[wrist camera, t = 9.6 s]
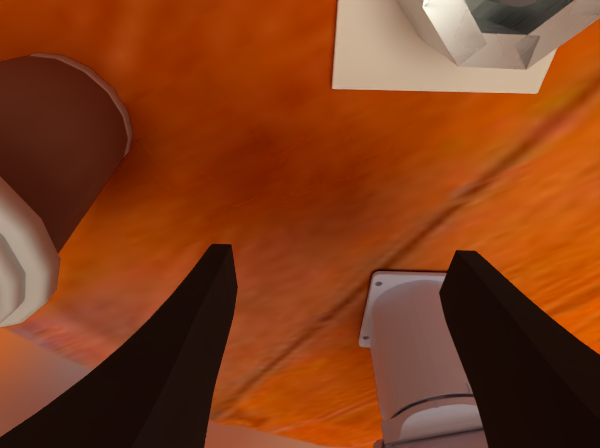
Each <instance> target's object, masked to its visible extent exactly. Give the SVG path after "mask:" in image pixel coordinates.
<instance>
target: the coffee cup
mask: <svg viewBox="0 0 600 448" xmlns="http://www.w3.org/2000/svg"><path fill="white" fill-rule="evenodd" d="M132 135H133V133H132V128H131V124H130V119H129V115H128V111H127V110H126V108H125V106H124V105H123V103H122V102H121V100H120V98H119V97H118V95H117V94H116V92H115V90H114V89H113V88H112V87H111V86H110V85H109V84H108V83H106V82H105V81H104V80H103V79H102V78H101V77H100V76H99V75H98V74H96V73H95V72H94V71H93V70H92V69H91V68H89V67H87V66H85V65H83V64H80V63H78V62H76V61H74V60H72V59H70V58H68V57H66V56H64V55H55V54H45V53H35V54H32V55H29V56H25V57H20V58H15V59H10V60H5V61H1V62H0V327H3V326H8V325H13V324H18V323H22V322H23V321H25V320H26V319H27V318H29V317H30V316H31V315H32V314H33V313H35V312H36V311H37V310H38V309H39V308H40V307H42V306H43V305H44V304H45V303H46V302H47V301H48V300H49V299H50V297H51V296H52V295H53V293H54V292H55V291H56V289H57V283H58V275H59V267H60V257H59V255H58V253H59V252H60V250H61V249H62V247H63V246H64V244H65V243H66V242H67V240H68V239H69V237H70V236H71V234H72V233H73V231H74V230H75V228H76V227H77V225H78V224H79V222H80V221H81V219H82V218H83V217H84V215H85V214H86V212H87V211H88V209H89V208H90V206H91V205H92V203H93V202H94V200H95V199H96V197H97V196H98V195H99V193H100V192H101V190H102V189H103V187H104V186H105V184H106V183H107V181H108V180H109V178H110V177H111V175H112V174H113V173H114V171H115V170H116V168H117V167H118V165H119V164H120V162H121V161H122V159H123V158H124V157H125V155H126V154H127V153H128V152H129V148H130V144H131V140H132Z"/></svg>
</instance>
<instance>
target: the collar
mask: <svg viewBox="0 0 600 448" xmlns="http://www.w3.org/2000/svg"><path fill="white" fill-rule="evenodd" d="M396 1H397V3H398V4H399V6H400V7H401V9H402V11H403V12H404V14H405V15H406V17H407V19H408V20H409V22H410V23H411V25H412V26H413V28H414V30H415V31H416V33H417V34H418V36H419V37H420V38H421V39H422V40H423V41H425V42H426V43H427V44H429V45H430V46H431V47H433V48H434V49H435V50H437V51H438V52H439V53H441V54H442V55H443V56H445V57H446V58H447V59H449V60H450V61H451V62H453V63H454V64H455V65H457V66H458V67H478V68H499V69H521V70H527V69H528V68H529V67H531V66H532V65H534V64H535V63H537V62H538V61H539V60H541V59H542V58H544V57H545V56H546V55H548V54H549V53H551V52H552V51H554V50H555V49H556V48H558V47H559V46H561V45H562V44H564V43H565V42H566V41H568V40H569V39H571V38H572V37H573V36H575V35H576V34H578V33H579V32H581V31H582V30H583V29H585V28H586V27H588V26H589V25H590V24H592V23H593V22H595V21H596V20H598V19H599V18H600V0H539V1H537V2H535V3H533V4H531V5H528V6H523V7H513V6H509V5H505V4H501V3H497V2H493V1H489V0H485V1H483V2H482V3H481V4H480V5H479V6H477V7H476V8H475V9H474V10H473V11H471V12H470V10H469V8H468V7H467V5H466V3H465V1H464V0H396Z"/></svg>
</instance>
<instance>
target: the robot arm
mask: <svg viewBox="0 0 600 448" xmlns="http://www.w3.org/2000/svg"><path fill="white" fill-rule="evenodd" d="M237 288H238V286H237V280H236V273H235V266H234V259H233V252H232V246H231V244H212V245H211V246H210V247H209V248H208V249H207V251H206V252H205V253H204V255H203V256H202V257H201V259H200V260H199V261H198V263H197V264H196V265H195V267H194V268H193V269H192V270H191V272H190V273H189V274H188V276H187V277H186V278H185V279H184V280H183V282H182V283H181V284H180V285H179V286H178V288H177V289H176V290H175V291H174V292H173V294H172V295H171V296H170V297H169V298H168V299H167V300H166V301H165V302H164V304H163V305H162V306H161V307H160V308H159V309H158V310H157V311H156V312H155V313H154V314H153V315H152V317H151V318H150V319H149V320H148V321H147V322H146V323H145V324H144V325H143V326H142V327H141V328H140V329H139V330H138V331H137V332H136V333H134V334H133V335H132V336H131V337H130V338H129V339H128V340H127V341H126V342H125V343H124V344H123V345H122V346H121V347H119V348H118V349H117V350H116V351H115V352H114V353H112V354H111V355H110V356H109V357H108V358H107V359H106V360H104V361H103V362H102V363H101V364H100V365H99V366H97V367H96V368H95V369H94V370H92V371H91V372H90V373H89V374H88V375H87V376H85V377H84V378H83V379H81V380H80V381H79V382H77V383H76V384H75V385H73V386H72V387H71V388H69V389H68V390H67V391H65V392H64V393H63V394H61V395H60V396H59V397H57V398H56V399H55V400H53V401H52V402H51V403H50V404H48V405H47V406H45V407H44V408H43V409H41V410H40V411H38V412H37V413H36V414H34V415H33V416H31V417H30V418H28V419H27V420H25V421H24V422H22V423H21V424H19V425H18V426H16V427H15V428H13V429H12V430H10V431H9V432H7V433H6V434H4V435H3V436H1V437H0V448H204V444H205V438H206V432H207V426H208V420H209V414H210V409H211V403H212V397H213V392H214V388H215V383H216V379H217V376H218V372H219V368H220V365H221V361H222V357H223V353H224V350H225V346H226V342H227V339H228V335H229V331H230V327H231V324H232V320H233V316H234V309H235V303H236V295H237ZM358 343H359V346H361V347H370V350H371V357H372V363H373V370H374V376H375V383H376V389H377V396H378V402H379V408H380V412H381V416H382V418H383V421H382V422H381V426H382V433H383V439H381V440H378V441H376V442H375V443H374V445H373V448H600V355H599V354H598V353H596V352H595V351H594V350H592V349H591V348H589V347H588V346H587V345H585V344H584V343H582V342H581V341H580V340H579V339H577V338H576V337H575V336H573V335H572V334H571V333H569V332H568V331H567V330H566V329H564V328H563V327H562V326H561V325H559V324H558V323H557V322H556V321H555V320H553V319H552V318H551V317H550V316H548V315H547V314H546V313H545V312H544V311H542V310H541V309H540V308H539V307H538V306H537V305H535V304H534V303H533V302H532V301H531V300H530V299H528V298H527V297H526V296H525V295H524V294H523V293H522V292H521V291H519V290H518V289H517V288H516V287H515V286H514V285H513V284H512V283H511V282H509V281H508V280H507V279H506V278H505V277H504V276H503V275H502V274H501V273H500V272H499V271H497V270H496V269H495V268H494V267H493V266H492V265H491V264H490V263H489V262H488V261H486V260H485V259H484V258H483V257H482V256H481V255H480V254H478V253H477V252H476V251H463V250H456V252H455V254H454V257H453V259H452V262H451V264H450V267H449V269H448V271H447V273H431V272H393V271H377V272H375V273H374V274H373V275H372V279H371V284H370V288H369V293H368V298H367V302H366V307H365V312H364V316H363V321H362V326H361V330H360V335H359V340H358Z"/></svg>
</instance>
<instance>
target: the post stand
mask: <svg viewBox="0 0 600 448" xmlns="http://www.w3.org/2000/svg"><path fill="white" fill-rule="evenodd" d="M464 1H465V3H466V5H467V7H468V8H469V10H470V12H471V11H473V10H474V9H475V8H476V7H477V6H479V5H480V4H481V3H482V2H483V1H485V0H464ZM489 1H493V2H497V3H501V4H505V5H509V6H513V7H523V6H528V5H531V4H533V3H535V2H537V1H539V0H489ZM556 50H557V48H556V49H555V50H554V51H552V52H551V53H549V54H548V55H546V56H545V57H544V58H542V59H541V60H539V61H538V62H537V63H535V64H534V65H532V66H531V67H529V68H528V69H527V70H521V69H499V68H478V67H458V66H457V65H455V64H454V63H453V62H451V61H450V60H449V59H447V58H446V57H445V56H443V55H442V54H441V53H439V52H438V51H437V50H435V49H434V48H433V47H431V46H430V45H429V44H427V43H426V42H425V41H423V40H422V39H421V38H420V37H419V36H418V34H417V33H416V31H415V30H414V28H413V26H412V25H411V23H410V22H409V20H408V19H407V17H406V15H405V14H404V12H403V11H402V9H401V7H400V6H399V4H398V3H397V1H396V0H338V2H337V16H336V30H335V44H334V58H333V72H332V89H359V90H403V91H447V92H490V93H534V94H537V93H538V91H539V88H540V86H541V84H542V82H543V79H544V77H545V75H546V73H547V70H548V68H549V66H550V63H551V61H552V59H553V57H554V54H555V52H556Z"/></svg>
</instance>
